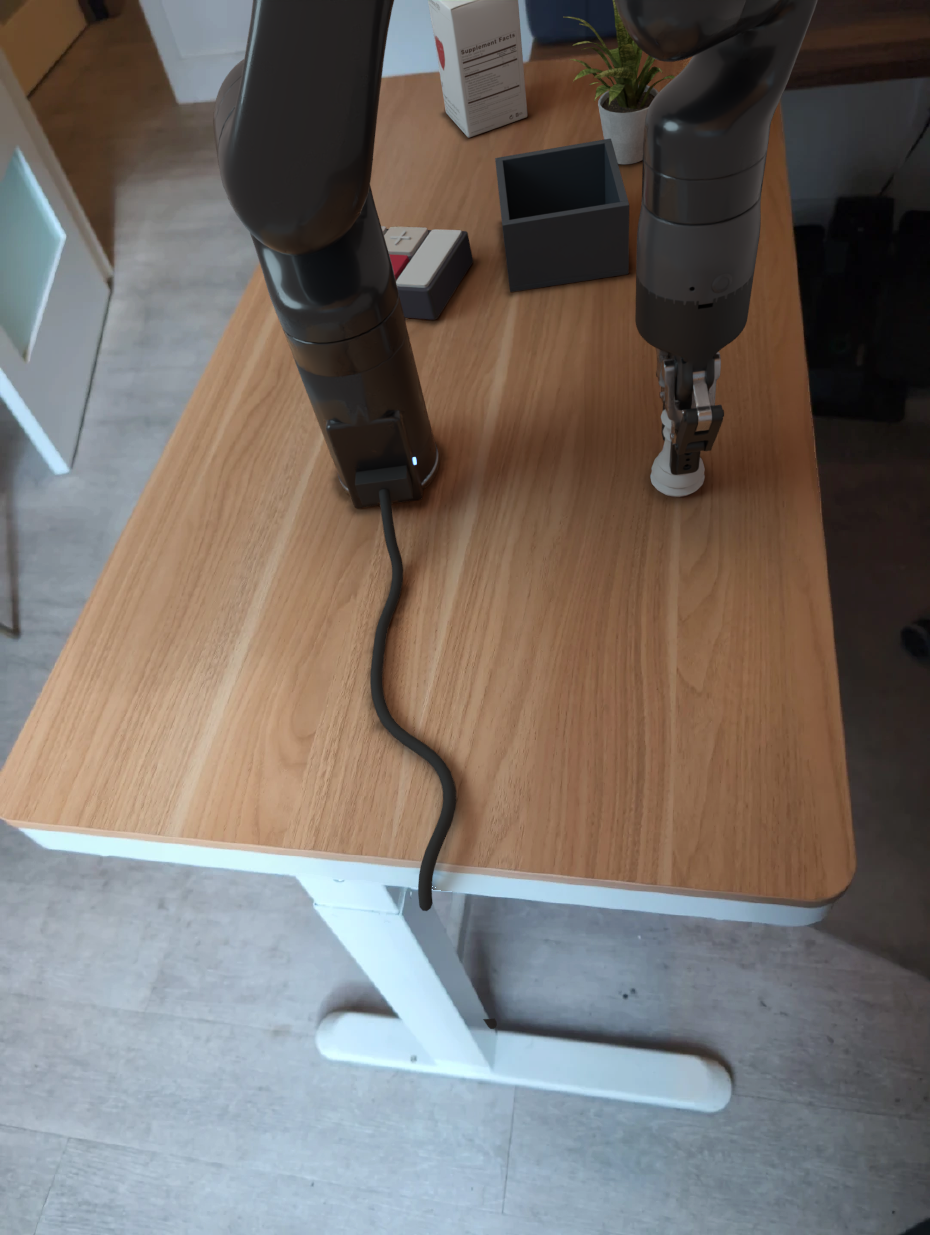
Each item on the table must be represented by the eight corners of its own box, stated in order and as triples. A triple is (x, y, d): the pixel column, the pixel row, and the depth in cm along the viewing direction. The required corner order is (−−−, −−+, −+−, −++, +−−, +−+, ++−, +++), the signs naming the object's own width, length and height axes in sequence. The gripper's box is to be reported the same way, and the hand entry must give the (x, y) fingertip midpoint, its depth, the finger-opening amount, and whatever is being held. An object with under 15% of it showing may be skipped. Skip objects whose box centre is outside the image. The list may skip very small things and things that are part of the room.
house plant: (548, 140, 107) (538, -10, 93) (651, 110, 107) (656, -43, 94) (585, 192, 98) (580, 36, 85) (697, 160, 99) (709, -1, 85)
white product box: (443, 113, 115) (423, -15, 103) (503, 93, 116) (490, -37, 104) (467, 139, 110) (448, 8, 98) (529, 118, 111) (518, -15, 99)
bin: (628, 274, 88) (629, 204, 82) (510, 292, 89) (502, 225, 83) (611, 206, 96) (610, 137, 90) (502, 223, 97) (495, 157, 91)
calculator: (348, 220, 95) (467, 223, 90) (359, 255, 99) (474, 260, 93) (303, 277, 90) (427, 284, 85) (317, 312, 94) (436, 320, 88)
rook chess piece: (712, 471, 71) (722, 396, 64) (691, 506, 69) (698, 434, 62) (663, 455, 72) (668, 382, 66) (641, 490, 70) (643, 418, 64)
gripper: (621, 213, 59) (621, 403, 73) (654, 337, 50) (646, 524, 64) (730, 195, 58) (708, 391, 72) (781, 319, 50) (745, 512, 64)
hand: (679, 453), depth 68 cm, fingers closed on rook chess piece, 3 cm apart
